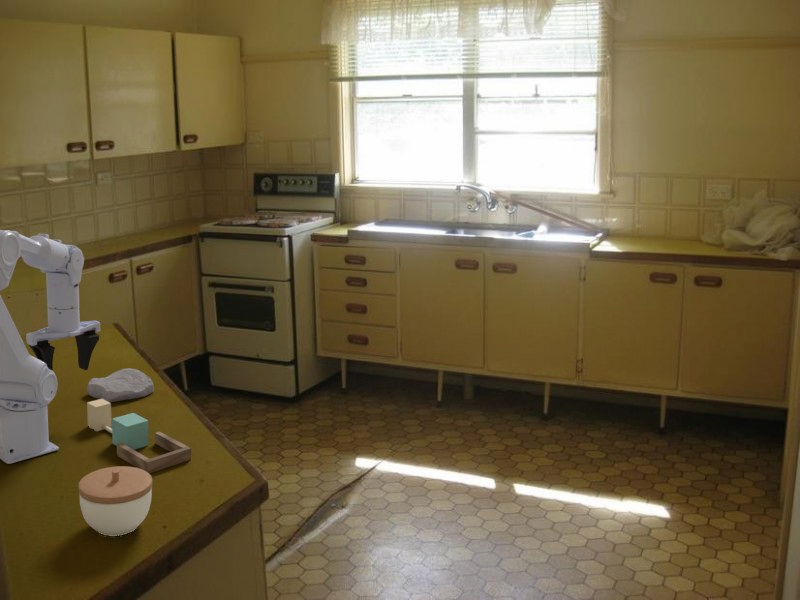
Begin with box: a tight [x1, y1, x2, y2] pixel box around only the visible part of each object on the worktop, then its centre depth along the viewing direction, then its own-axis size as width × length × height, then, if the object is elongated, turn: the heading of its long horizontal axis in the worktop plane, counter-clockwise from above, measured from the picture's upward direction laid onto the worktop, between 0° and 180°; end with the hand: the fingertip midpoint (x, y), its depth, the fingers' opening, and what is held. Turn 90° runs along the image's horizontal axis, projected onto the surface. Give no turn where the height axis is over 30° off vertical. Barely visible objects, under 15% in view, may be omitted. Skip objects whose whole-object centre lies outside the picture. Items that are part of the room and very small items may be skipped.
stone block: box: [86, 367, 155, 403], centre depth 187 cm, size 12×5×10 cm
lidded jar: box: [77, 465, 153, 536], centre depth 133 cm, size 11×11×9 cm
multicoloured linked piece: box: [86, 399, 150, 451], centre depth 165 cm, size 15×4×5 cm, turn 49°
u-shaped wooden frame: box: [116, 431, 192, 474], centre depth 158 cm, size 10×9×2 cm
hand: (66, 373), depth 169 cm, fingers open, 7 cm apart
